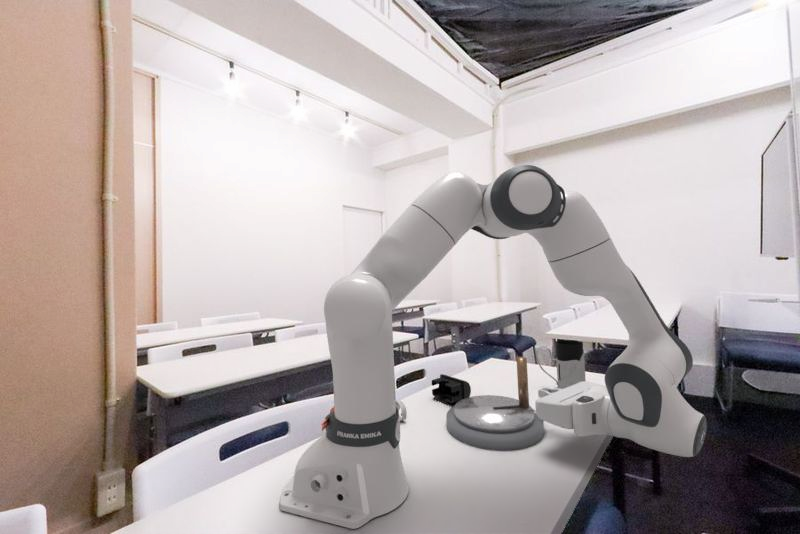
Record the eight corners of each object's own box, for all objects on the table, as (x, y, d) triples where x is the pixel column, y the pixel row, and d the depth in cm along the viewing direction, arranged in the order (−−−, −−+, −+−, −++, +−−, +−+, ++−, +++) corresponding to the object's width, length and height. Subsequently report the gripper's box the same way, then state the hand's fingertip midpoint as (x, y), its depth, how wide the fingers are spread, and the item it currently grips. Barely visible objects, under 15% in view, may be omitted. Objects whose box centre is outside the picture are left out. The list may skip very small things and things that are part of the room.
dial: (465, 436, 75) (462, 373, 75) (447, 403, 94) (444, 353, 94) (549, 428, 76) (546, 367, 76) (514, 398, 95) (512, 349, 95)
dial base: (444, 447, 76) (443, 435, 76) (448, 407, 98) (448, 397, 98) (555, 452, 71) (554, 439, 71) (533, 409, 94) (532, 399, 94)
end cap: (471, 402, 102) (470, 379, 102) (454, 408, 97) (453, 384, 98) (448, 393, 110) (447, 372, 110) (431, 399, 105) (430, 377, 106)
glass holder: (591, 396, 101) (588, 345, 101) (539, 394, 105) (537, 345, 105) (583, 386, 110) (581, 339, 110) (536, 385, 113) (533, 339, 114)
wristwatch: (400, 415, 94) (399, 397, 94) (409, 422, 90) (408, 402, 90) (390, 418, 93) (389, 399, 93) (399, 425, 88) (398, 405, 88)
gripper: (624, 382, 76) (565, 370, 88) (575, 406, 65) (514, 388, 76) (626, 411, 76) (566, 394, 88) (577, 439, 65) (515, 416, 76)
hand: (541, 391), depth 82 cm, fingers closed
